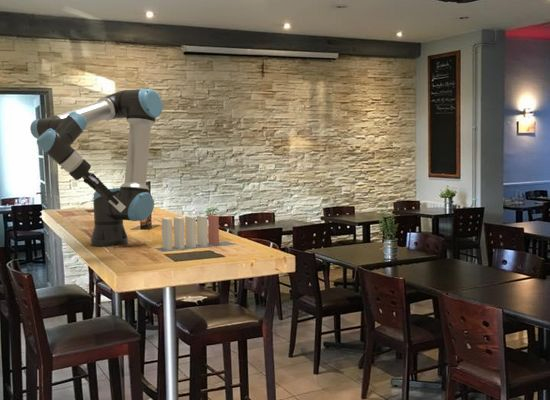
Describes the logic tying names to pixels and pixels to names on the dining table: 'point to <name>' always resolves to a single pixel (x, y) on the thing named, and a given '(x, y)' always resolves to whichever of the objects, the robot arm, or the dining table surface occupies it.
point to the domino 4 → (202, 231)
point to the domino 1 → (167, 233)
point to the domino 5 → (213, 229)
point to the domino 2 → (179, 232)
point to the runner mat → (196, 246)
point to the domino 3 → (190, 231)
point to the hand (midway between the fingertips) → (122, 209)
